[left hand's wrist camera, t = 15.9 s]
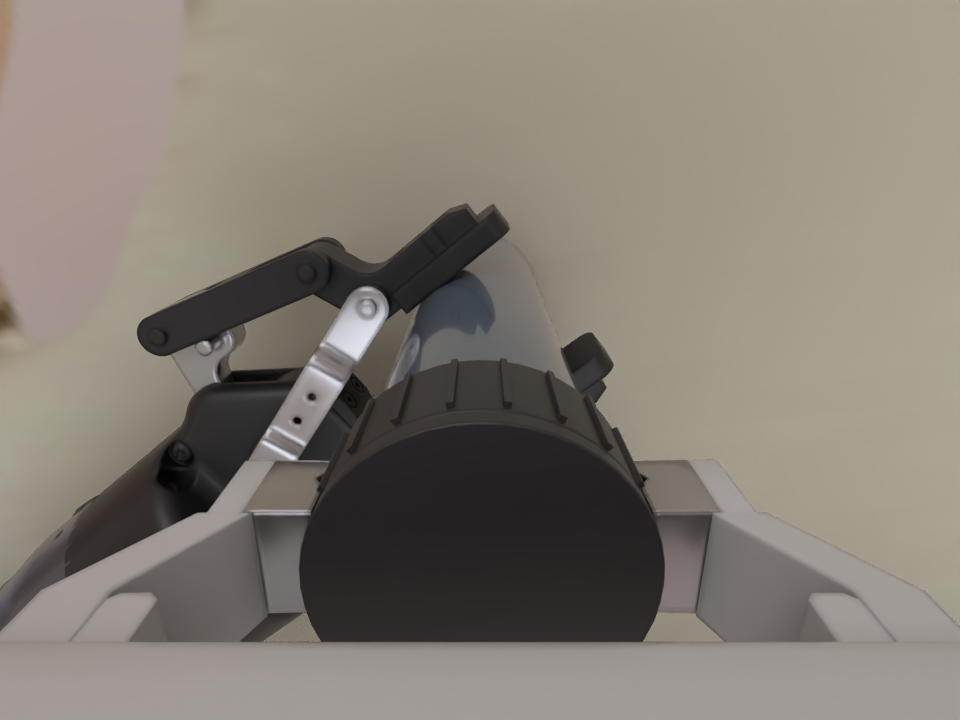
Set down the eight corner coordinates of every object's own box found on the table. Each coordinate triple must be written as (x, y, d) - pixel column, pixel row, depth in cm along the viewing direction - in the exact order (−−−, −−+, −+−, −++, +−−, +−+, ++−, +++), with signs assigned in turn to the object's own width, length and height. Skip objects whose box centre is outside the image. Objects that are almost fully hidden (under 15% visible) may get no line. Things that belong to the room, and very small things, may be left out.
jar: (483, 210, 23) (489, 353, 8) (556, 290, 25) (690, 555, 9) (404, 285, 24) (271, 544, 9) (478, 359, 26) (475, 704, 10)
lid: (284, 542, 11) (236, 643, 8) (415, 296, 9) (396, 344, 7) (532, 650, 11) (544, 766, 9) (691, 442, 10) (749, 525, 8)
